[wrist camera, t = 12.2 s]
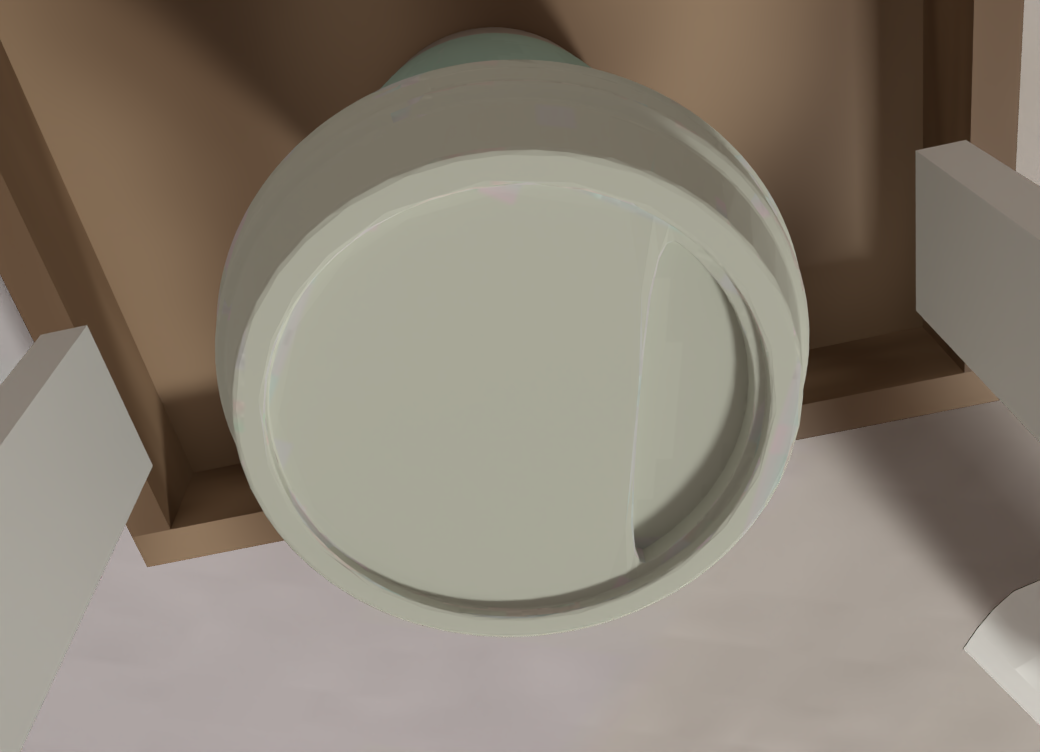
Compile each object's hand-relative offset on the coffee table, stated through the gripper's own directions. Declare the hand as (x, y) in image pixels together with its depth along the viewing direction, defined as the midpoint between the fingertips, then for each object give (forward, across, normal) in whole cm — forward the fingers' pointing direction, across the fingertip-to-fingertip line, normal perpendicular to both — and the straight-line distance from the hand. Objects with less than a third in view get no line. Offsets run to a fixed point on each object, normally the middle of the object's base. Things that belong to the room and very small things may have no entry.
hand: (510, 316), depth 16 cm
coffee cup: (+9, 0, 0) cm, 9 cm away
